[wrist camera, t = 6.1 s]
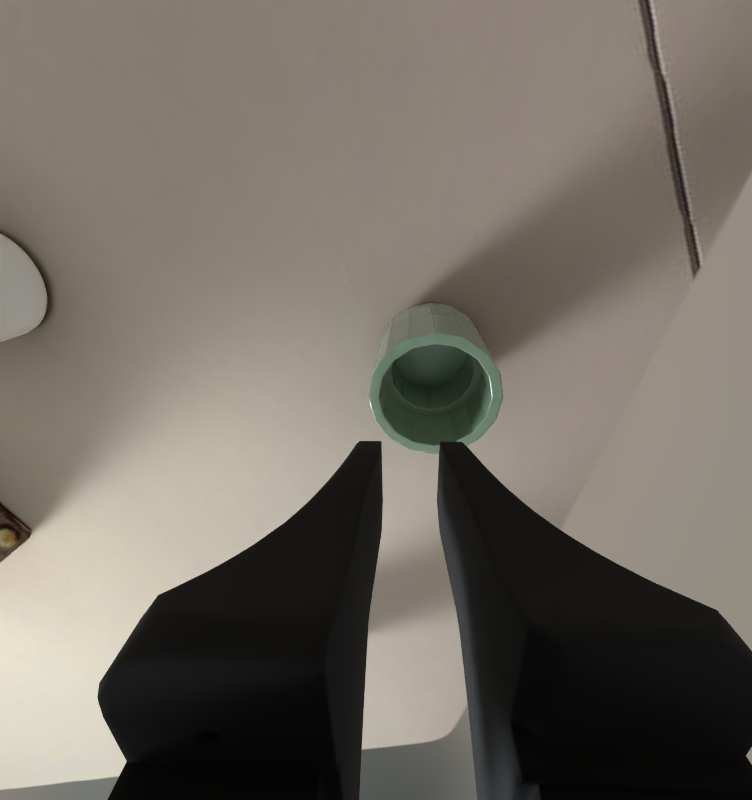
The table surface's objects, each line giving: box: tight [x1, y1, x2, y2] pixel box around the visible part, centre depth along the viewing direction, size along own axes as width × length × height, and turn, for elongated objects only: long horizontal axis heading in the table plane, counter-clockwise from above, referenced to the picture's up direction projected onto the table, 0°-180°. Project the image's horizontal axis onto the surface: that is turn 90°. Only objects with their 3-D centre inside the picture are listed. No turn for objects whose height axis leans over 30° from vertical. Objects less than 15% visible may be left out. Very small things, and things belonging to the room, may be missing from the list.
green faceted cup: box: [369, 303, 503, 454], centre depth 17 cm, size 5×5×6 cm
